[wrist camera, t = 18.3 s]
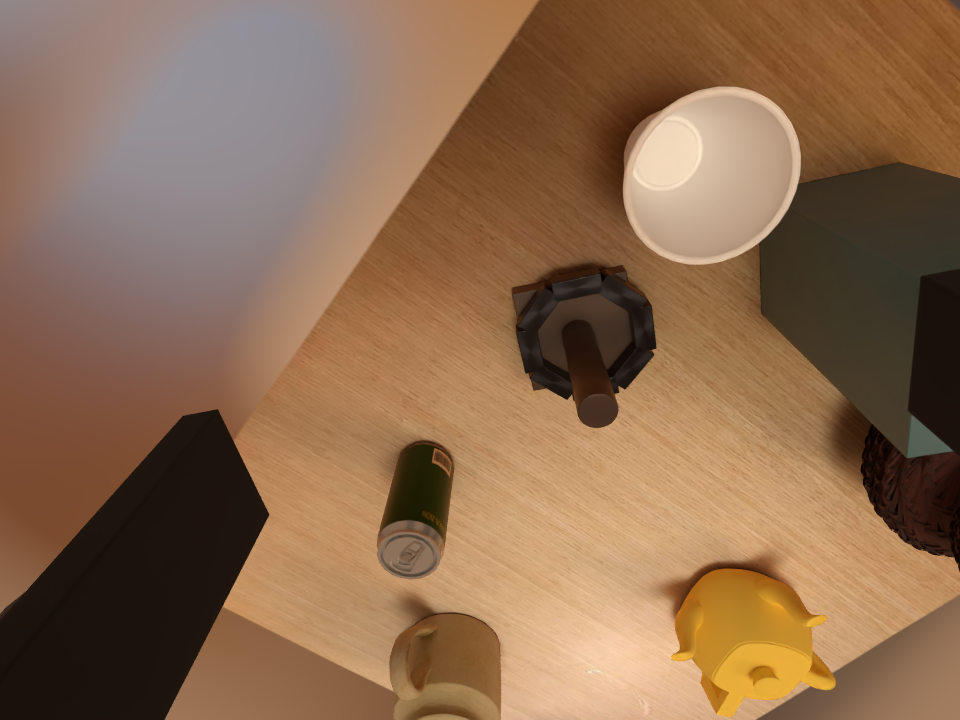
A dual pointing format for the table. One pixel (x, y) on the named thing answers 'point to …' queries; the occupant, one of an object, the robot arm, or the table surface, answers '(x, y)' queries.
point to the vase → (915, 494)
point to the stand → (863, 283)
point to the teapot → (748, 639)
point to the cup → (710, 174)
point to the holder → (584, 347)
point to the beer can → (416, 512)
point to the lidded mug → (447, 670)
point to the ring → (574, 288)
